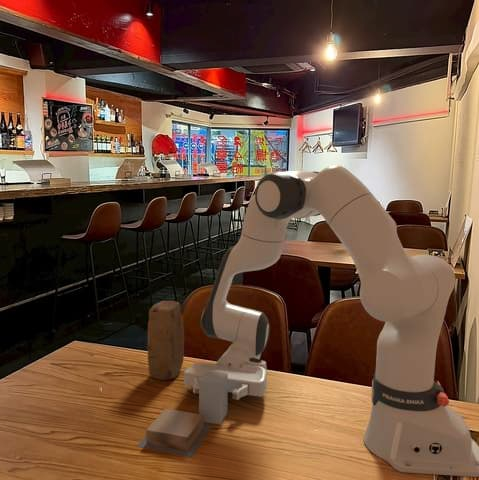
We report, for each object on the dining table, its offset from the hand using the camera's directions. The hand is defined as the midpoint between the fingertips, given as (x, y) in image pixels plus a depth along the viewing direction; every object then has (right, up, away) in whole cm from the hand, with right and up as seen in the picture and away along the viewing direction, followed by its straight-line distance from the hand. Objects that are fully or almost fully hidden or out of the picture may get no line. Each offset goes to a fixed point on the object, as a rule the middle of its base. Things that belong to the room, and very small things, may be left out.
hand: (215, 393), depth 106 cm
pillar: (0, -6, 0) cm, 6 cm away
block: (-14, -2, +23) cm, 27 cm away
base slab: (-8, -6, -8) cm, 13 cm away
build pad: (-8, -7, -8) cm, 13 cm away
